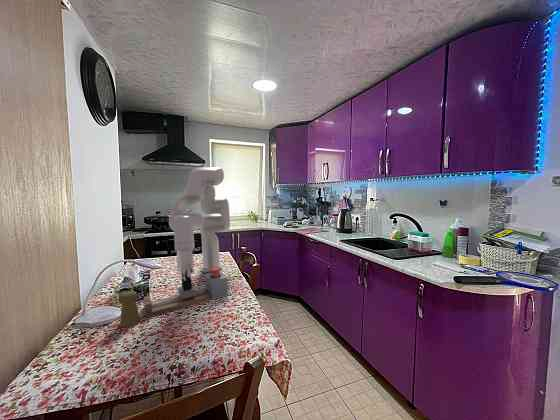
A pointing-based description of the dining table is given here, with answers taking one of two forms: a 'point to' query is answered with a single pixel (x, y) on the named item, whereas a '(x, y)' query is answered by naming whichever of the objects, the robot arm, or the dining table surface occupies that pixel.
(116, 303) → the dining table surface
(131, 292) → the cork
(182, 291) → the carriage
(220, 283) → the end cabinet
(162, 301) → the board
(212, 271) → the button
